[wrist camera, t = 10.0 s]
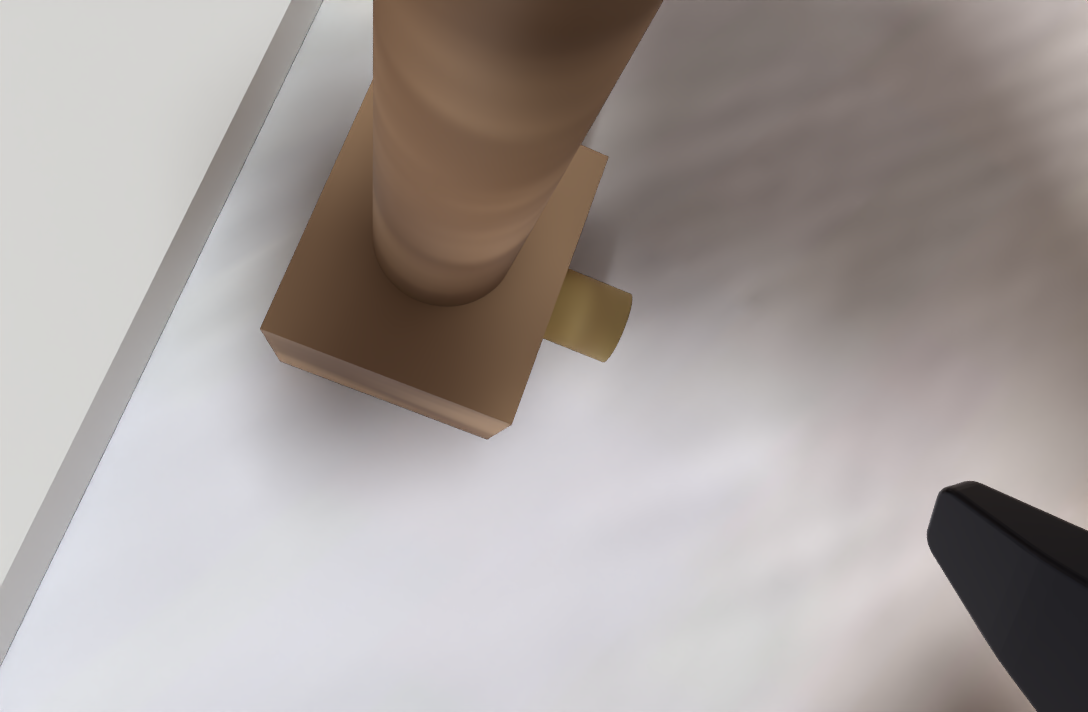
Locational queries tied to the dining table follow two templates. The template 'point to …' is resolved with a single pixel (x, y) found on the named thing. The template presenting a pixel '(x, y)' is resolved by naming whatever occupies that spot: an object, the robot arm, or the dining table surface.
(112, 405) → the board
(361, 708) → the dining table surface
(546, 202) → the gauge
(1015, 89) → the dining table surface
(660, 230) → the dining table surface
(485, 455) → the dining table surface
